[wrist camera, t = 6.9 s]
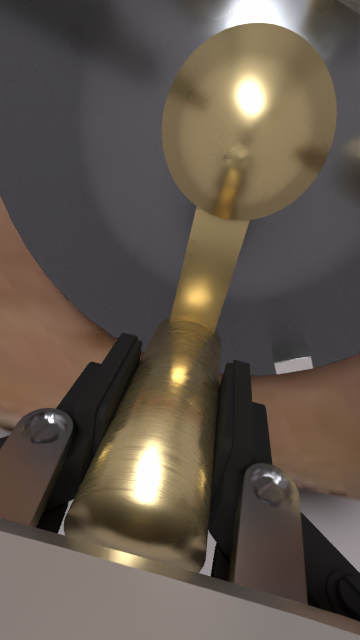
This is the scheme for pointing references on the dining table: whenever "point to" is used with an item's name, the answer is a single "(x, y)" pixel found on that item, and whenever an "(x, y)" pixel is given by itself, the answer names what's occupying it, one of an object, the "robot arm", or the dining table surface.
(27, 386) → the dining table surface
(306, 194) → the base
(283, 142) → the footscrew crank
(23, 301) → the dining table surface
